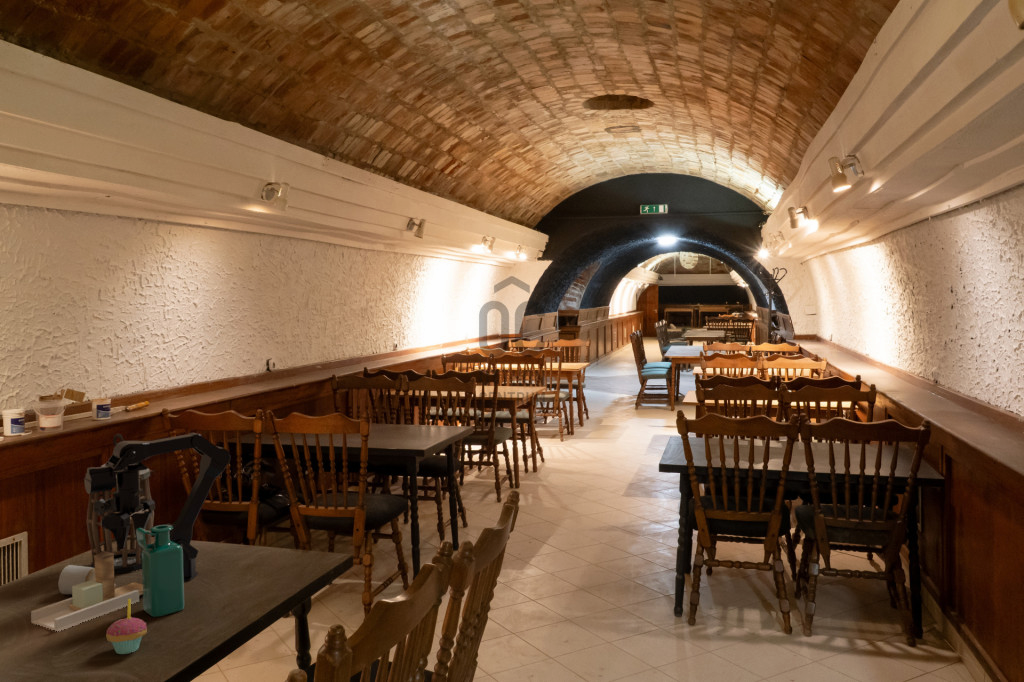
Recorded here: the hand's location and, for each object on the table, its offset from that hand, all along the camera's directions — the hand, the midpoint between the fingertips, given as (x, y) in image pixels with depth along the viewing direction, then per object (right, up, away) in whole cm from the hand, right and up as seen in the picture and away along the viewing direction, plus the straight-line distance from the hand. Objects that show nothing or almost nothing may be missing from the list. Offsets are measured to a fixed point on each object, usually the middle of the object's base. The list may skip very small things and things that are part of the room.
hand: (130, 543), depth 222 cm
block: (-4, -12, -15) cm, 19 cm away
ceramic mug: (-13, -13, 0) cm, 19 cm away
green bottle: (+15, -14, -14) cm, 24 cm away
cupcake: (+17, -15, -37) cm, 43 cm away
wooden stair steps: (-1, -13, -9) cm, 15 cm away
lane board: (-4, -14, -15) cm, 21 cm away
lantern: (-12, -12, +21) cm, 27 cm away
